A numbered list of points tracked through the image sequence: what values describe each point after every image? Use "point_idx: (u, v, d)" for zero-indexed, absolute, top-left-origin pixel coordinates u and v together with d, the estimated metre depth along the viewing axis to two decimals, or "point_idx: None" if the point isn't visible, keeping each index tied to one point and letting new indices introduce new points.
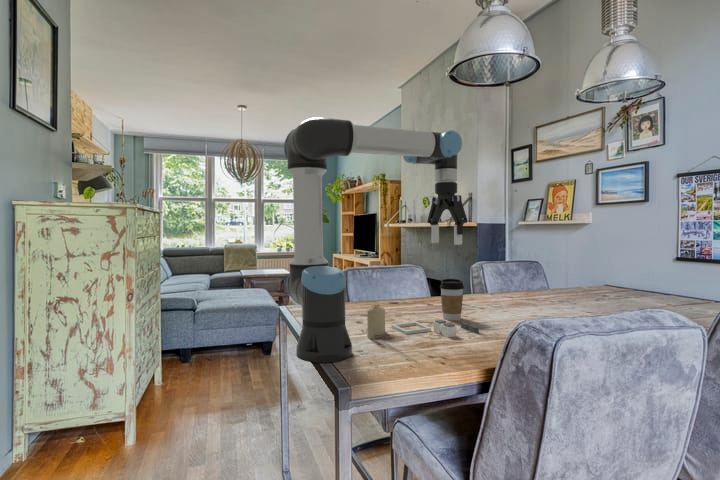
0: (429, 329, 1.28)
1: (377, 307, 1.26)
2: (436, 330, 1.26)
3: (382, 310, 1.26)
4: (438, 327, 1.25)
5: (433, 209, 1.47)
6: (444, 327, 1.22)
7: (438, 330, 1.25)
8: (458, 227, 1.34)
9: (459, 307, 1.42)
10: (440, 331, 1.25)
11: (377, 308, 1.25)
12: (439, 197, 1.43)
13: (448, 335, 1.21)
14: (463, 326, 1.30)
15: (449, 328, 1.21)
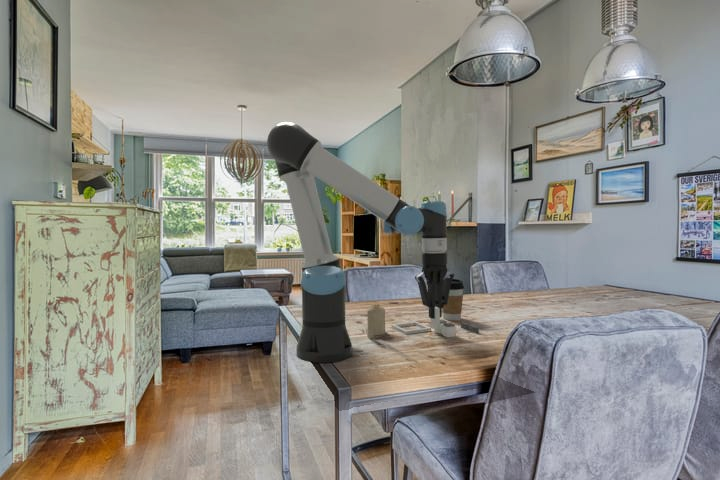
0: (429, 329, 1.28)
1: (377, 307, 1.26)
2: (436, 330, 1.26)
3: (382, 310, 1.26)
4: None
5: (443, 285, 1.27)
6: (444, 327, 1.22)
7: (439, 330, 1.25)
8: None
9: (459, 307, 1.42)
10: (441, 331, 1.25)
11: (377, 308, 1.25)
12: None
13: (448, 335, 1.21)
14: (463, 326, 1.30)
15: (449, 328, 1.21)
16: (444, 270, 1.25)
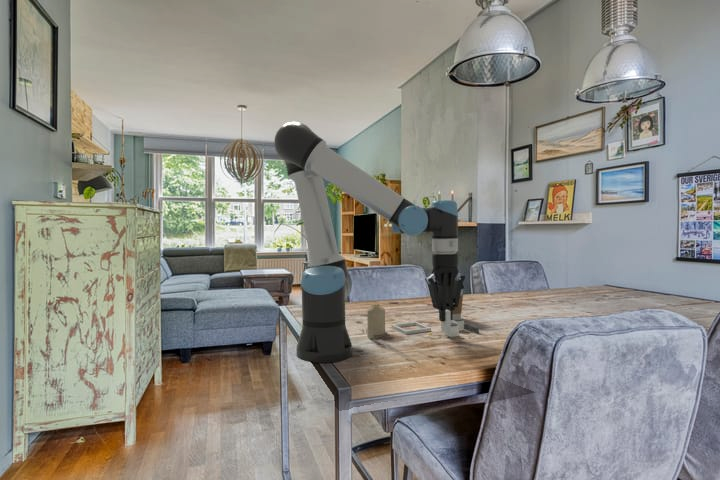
0: (429, 329, 1.28)
1: (377, 307, 1.26)
2: None
3: (382, 310, 1.26)
4: None
5: (454, 287, 1.24)
6: None
7: None
8: None
9: (459, 307, 1.42)
10: None
11: (377, 308, 1.25)
12: None
13: (451, 335, 1.21)
14: None
15: (452, 328, 1.21)
16: (455, 271, 1.21)
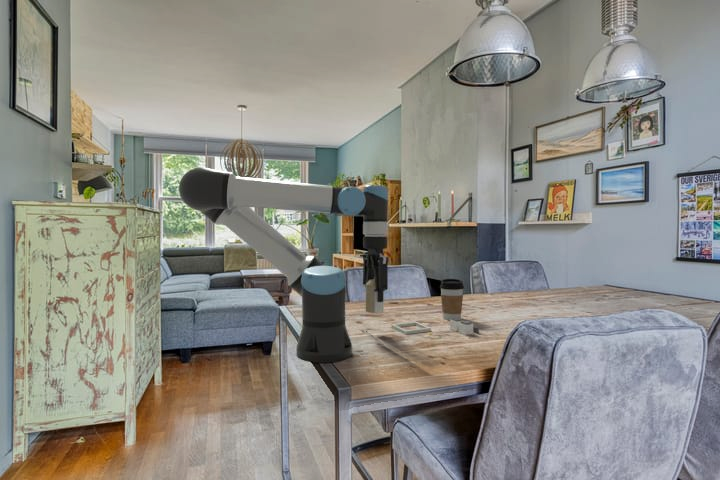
0: (429, 329, 1.28)
1: None
2: (453, 328, 1.29)
3: None
4: (455, 325, 1.28)
5: (366, 267, 1.31)
6: (461, 325, 1.25)
7: (455, 328, 1.28)
8: (378, 293, 1.23)
9: (459, 307, 1.42)
10: (457, 329, 1.28)
11: None
12: (368, 250, 1.29)
13: (465, 333, 1.23)
14: None
15: (466, 326, 1.23)
16: None
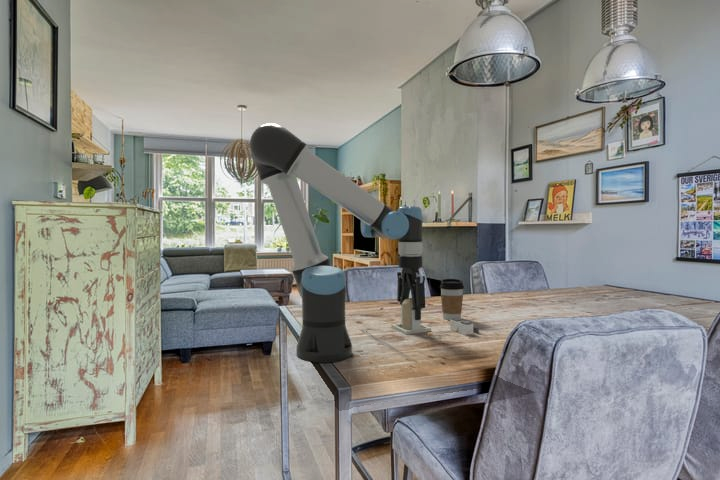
0: (429, 329, 1.28)
1: None
2: (453, 328, 1.29)
3: None
4: (455, 325, 1.28)
5: (400, 285, 1.35)
6: (461, 325, 1.25)
7: (455, 328, 1.28)
8: (415, 311, 1.26)
9: (459, 307, 1.42)
10: (457, 329, 1.28)
11: None
12: (403, 269, 1.32)
13: (465, 333, 1.23)
14: None
15: (466, 326, 1.23)
16: None
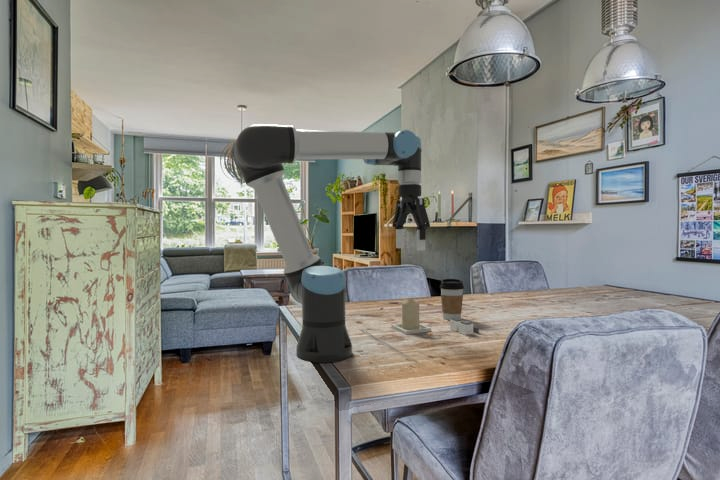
0: (429, 329, 1.28)
1: (412, 300, 1.29)
2: (453, 328, 1.29)
3: (417, 303, 1.29)
4: (455, 325, 1.28)
5: (398, 213, 1.40)
6: (461, 325, 1.25)
7: (455, 328, 1.28)
8: (420, 231, 1.27)
9: (459, 307, 1.42)
10: (457, 329, 1.28)
11: (412, 301, 1.29)
12: (403, 200, 1.36)
13: (465, 333, 1.23)
14: None
15: (466, 326, 1.23)
16: None
